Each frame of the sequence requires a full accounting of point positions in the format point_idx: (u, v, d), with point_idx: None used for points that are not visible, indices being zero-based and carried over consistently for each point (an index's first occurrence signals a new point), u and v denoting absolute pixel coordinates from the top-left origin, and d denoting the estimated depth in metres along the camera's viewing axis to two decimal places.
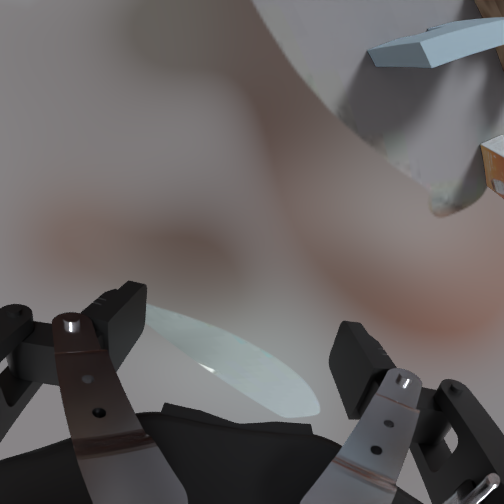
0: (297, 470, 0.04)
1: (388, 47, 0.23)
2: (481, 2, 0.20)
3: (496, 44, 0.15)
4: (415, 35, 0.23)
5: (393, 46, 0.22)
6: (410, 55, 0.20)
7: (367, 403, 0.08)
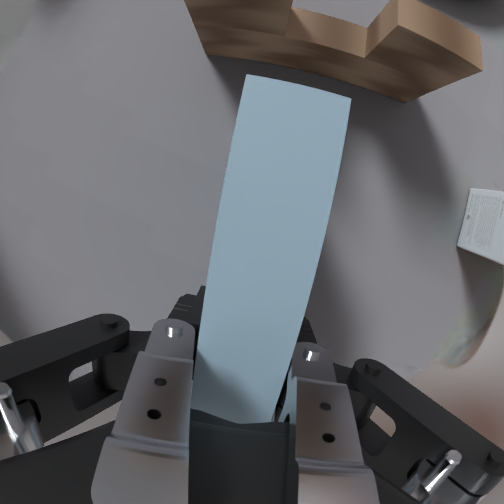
0: None
1: None
2: (240, 50, 0.17)
3: (284, 354, 0.08)
4: None
5: None
6: None
7: None
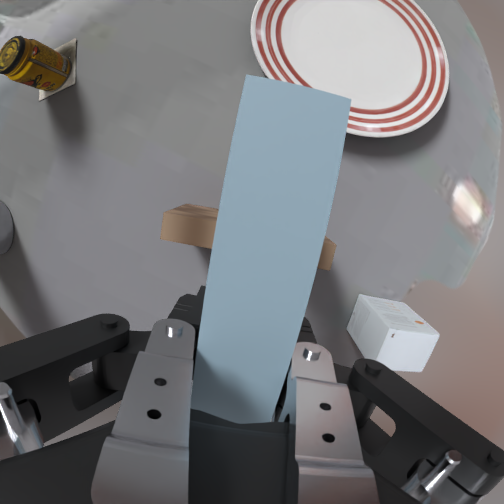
0: None
1: None
2: None
3: (284, 354, 0.08)
4: None
5: None
6: None
7: None
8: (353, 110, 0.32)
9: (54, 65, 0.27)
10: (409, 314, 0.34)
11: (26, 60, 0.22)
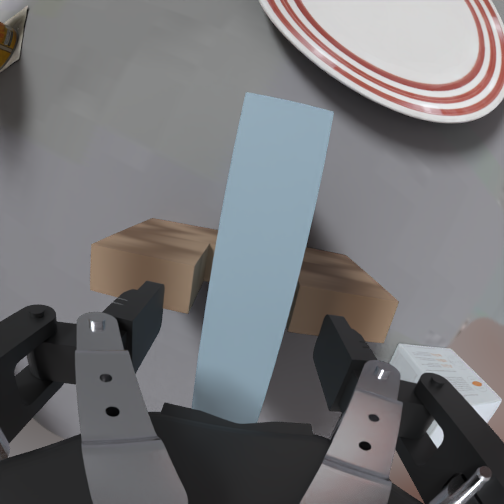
0: (297, 470, 0.04)
1: None
2: None
3: (277, 328, 0.09)
4: None
5: None
6: None
7: (346, 394, 0.08)
8: (401, 82, 0.19)
9: None
10: (462, 370, 0.21)
11: None
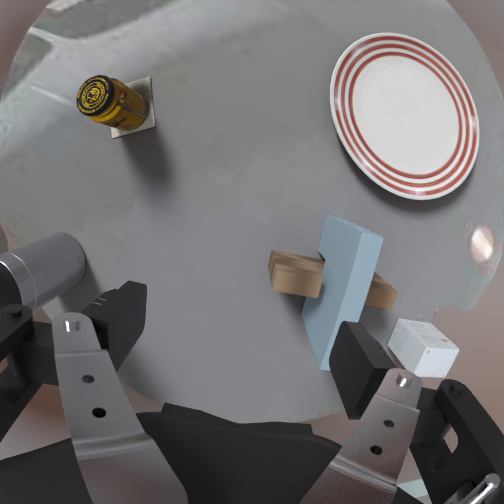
0: (297, 470, 0.04)
1: (309, 337, 0.39)
2: None
3: (364, 298, 0.30)
4: None
5: (311, 342, 0.38)
6: None
7: (367, 403, 0.08)
8: (405, 175, 0.40)
9: (136, 108, 0.35)
10: (436, 333, 0.42)
11: (115, 104, 0.30)
